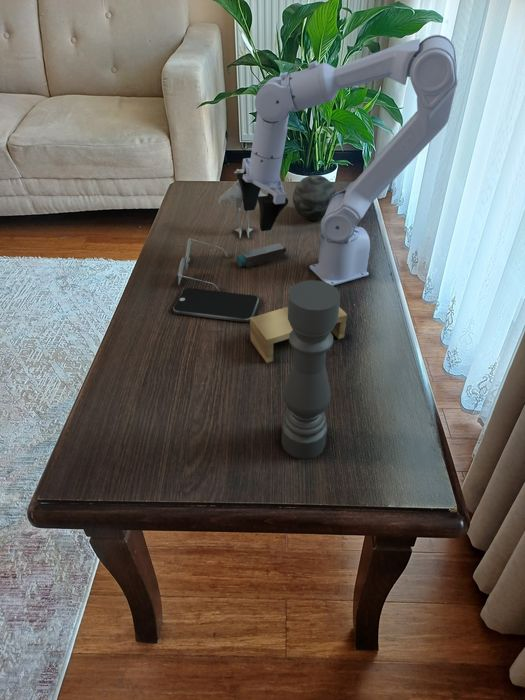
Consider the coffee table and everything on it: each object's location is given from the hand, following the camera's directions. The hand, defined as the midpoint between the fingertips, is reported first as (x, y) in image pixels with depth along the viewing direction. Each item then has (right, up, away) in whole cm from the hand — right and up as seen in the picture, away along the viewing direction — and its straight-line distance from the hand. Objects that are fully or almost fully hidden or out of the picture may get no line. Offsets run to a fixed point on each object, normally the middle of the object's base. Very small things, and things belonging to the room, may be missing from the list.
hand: (257, 219), depth 103 cm
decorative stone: (+13, +6, +22) cm, 26 cm away
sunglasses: (-11, -10, +4) cm, 15 cm away
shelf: (+7, -24, -13) cm, 28 cm away
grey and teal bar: (+1, -7, +7) cm, 10 cm away
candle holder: (+7, -39, -29) cm, 49 cm away
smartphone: (-8, -18, -5) cm, 20 cm away
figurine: (-3, 0, +16) cm, 16 cm away
